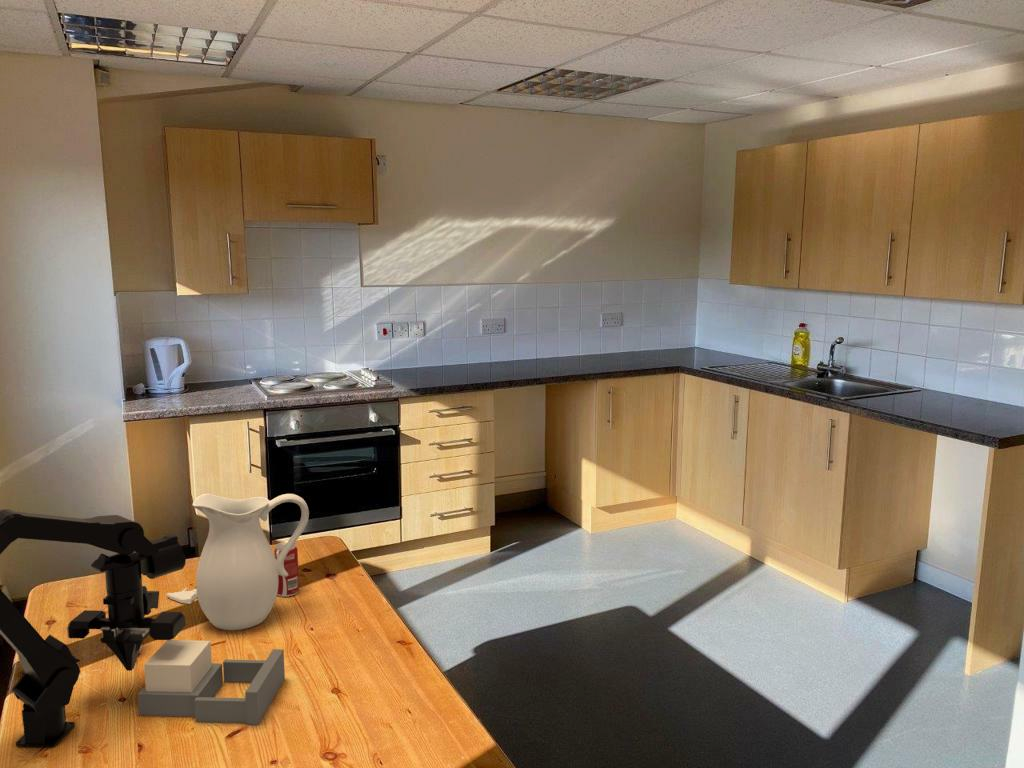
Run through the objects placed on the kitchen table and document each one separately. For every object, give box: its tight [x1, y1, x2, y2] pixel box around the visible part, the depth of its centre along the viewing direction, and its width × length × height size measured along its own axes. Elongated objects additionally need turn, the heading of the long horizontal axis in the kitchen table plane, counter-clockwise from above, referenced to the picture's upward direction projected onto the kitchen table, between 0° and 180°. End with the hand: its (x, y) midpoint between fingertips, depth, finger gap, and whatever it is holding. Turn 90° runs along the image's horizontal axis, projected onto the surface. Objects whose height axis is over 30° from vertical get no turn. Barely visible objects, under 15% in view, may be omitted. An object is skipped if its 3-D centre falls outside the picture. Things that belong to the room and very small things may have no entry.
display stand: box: [137, 648, 286, 726], centre depth 146 cm, size 15×22×6 cm
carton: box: [144, 639, 213, 692], centre depth 146 cm, size 9×8×5 cm
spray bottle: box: [166, 586, 198, 605], centre depth 196 cm, size 3×11×24 cm
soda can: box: [273, 540, 300, 598], centre depth 191 cm, size 5×5×12 cm
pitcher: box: [192, 493, 310, 631], centre depth 177 cm, size 24×17×28 cm
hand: (130, 669), depth 146 cm, fingers closed
